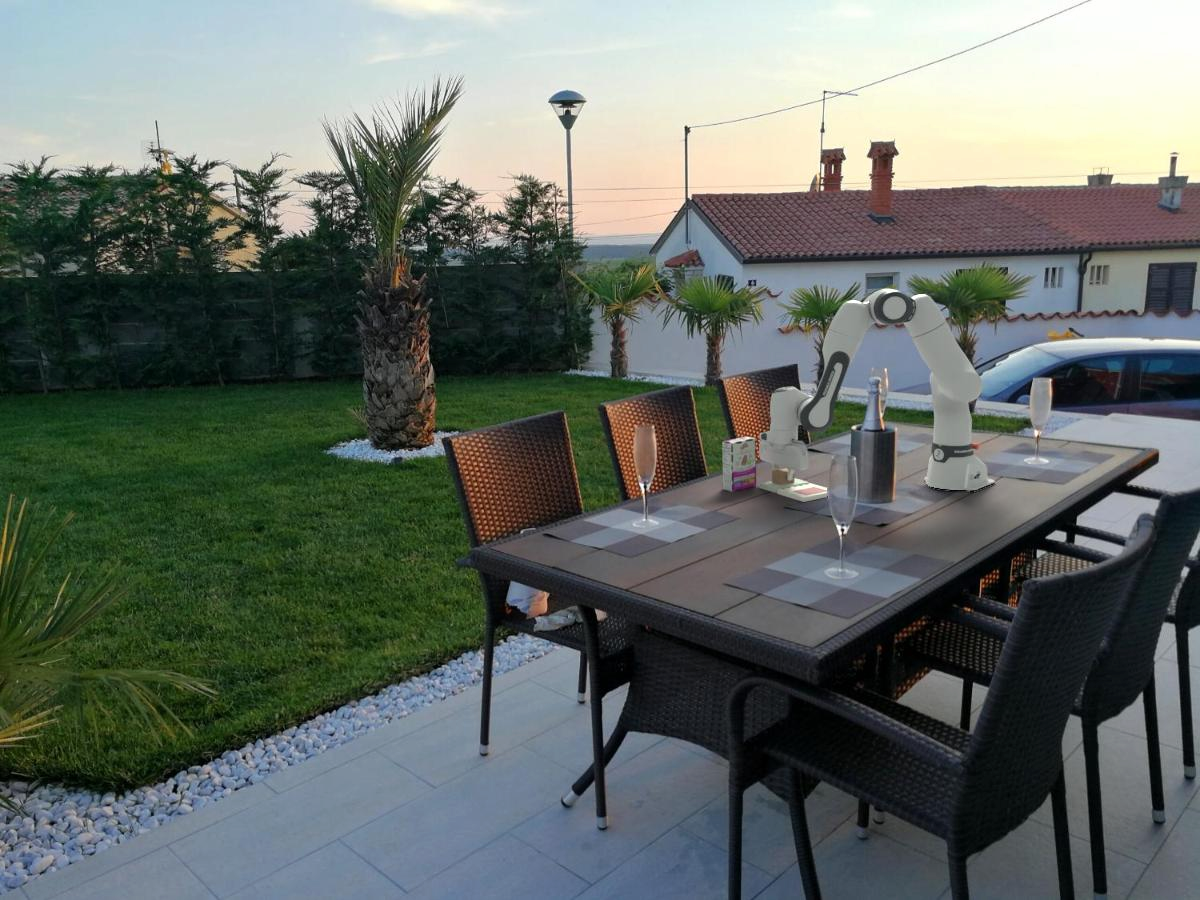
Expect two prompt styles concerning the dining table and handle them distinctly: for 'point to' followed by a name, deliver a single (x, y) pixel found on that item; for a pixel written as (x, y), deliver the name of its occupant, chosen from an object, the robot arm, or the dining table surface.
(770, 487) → the stub
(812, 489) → the board
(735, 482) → the candy bar box
